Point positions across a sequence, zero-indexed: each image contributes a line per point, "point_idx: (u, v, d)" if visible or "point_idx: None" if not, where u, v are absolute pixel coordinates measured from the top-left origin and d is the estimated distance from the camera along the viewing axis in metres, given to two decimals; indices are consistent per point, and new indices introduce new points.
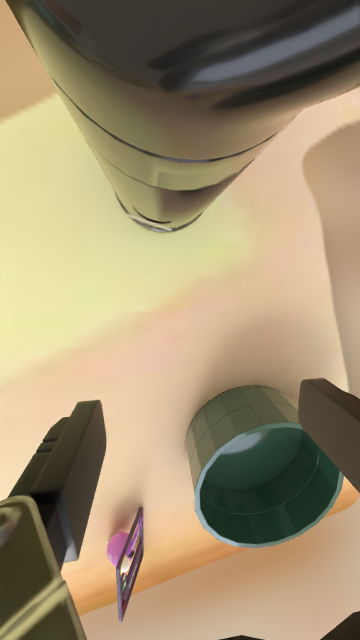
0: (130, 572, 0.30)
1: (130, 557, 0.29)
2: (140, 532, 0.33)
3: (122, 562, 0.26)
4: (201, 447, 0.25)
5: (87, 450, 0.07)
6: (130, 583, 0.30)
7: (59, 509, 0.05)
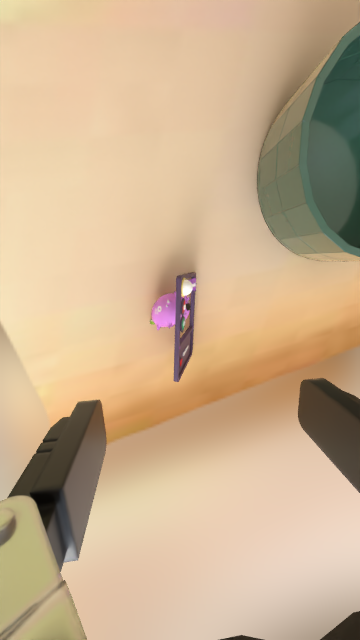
0: (184, 336, 0.22)
1: (187, 309, 0.21)
2: (191, 312, 0.25)
3: (183, 278, 0.18)
4: (304, 87, 0.17)
5: (87, 450, 0.07)
6: (184, 353, 0.22)
7: (59, 509, 0.05)
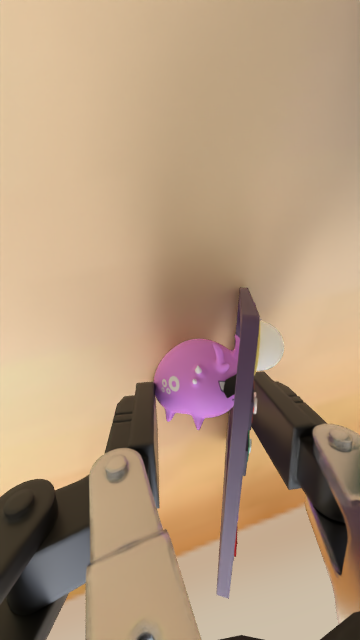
0: None
1: None
2: None
3: None
4: None
5: (155, 421, 0.08)
6: None
7: (150, 462, 0.06)
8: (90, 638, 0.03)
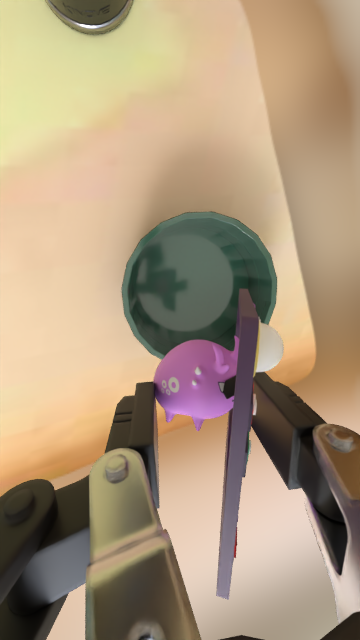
0: None
1: None
2: None
3: (259, 322, 0.06)
4: None
5: None
6: None
7: (150, 462, 0.06)
8: (90, 638, 0.03)
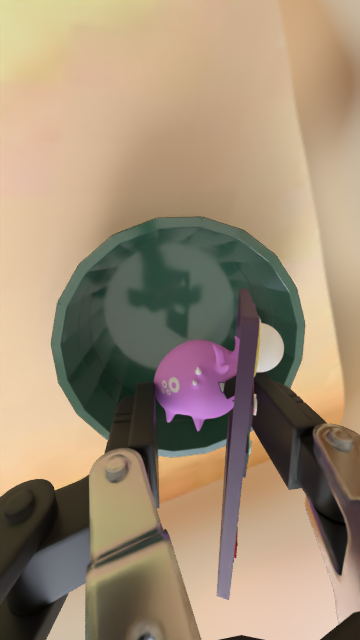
0: None
1: None
2: None
3: (259, 322, 0.06)
4: None
5: None
6: None
7: (150, 462, 0.06)
8: (90, 638, 0.03)
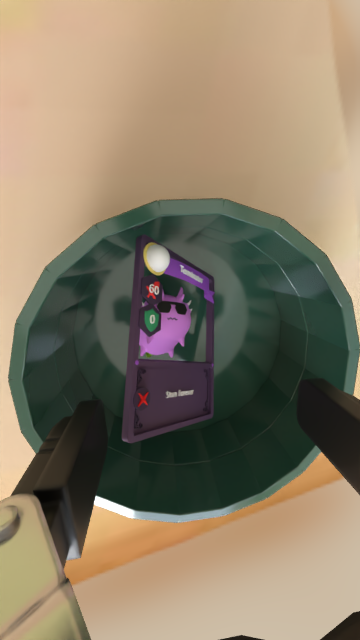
0: (174, 361, 0.12)
1: (178, 311, 0.12)
2: (208, 337, 0.15)
3: (152, 242, 0.11)
4: None
5: (89, 449, 0.07)
6: (171, 393, 0.11)
7: (62, 507, 0.05)
8: None
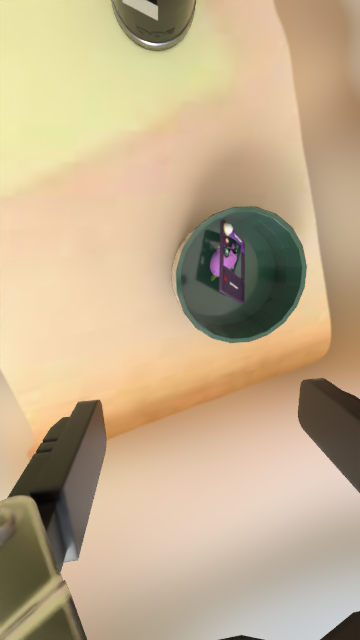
0: (231, 272, 0.29)
1: (233, 252, 0.30)
2: (242, 269, 0.32)
3: None
4: (183, 244, 0.29)
5: (87, 450, 0.07)
6: (231, 283, 0.29)
7: (59, 509, 0.05)
8: None
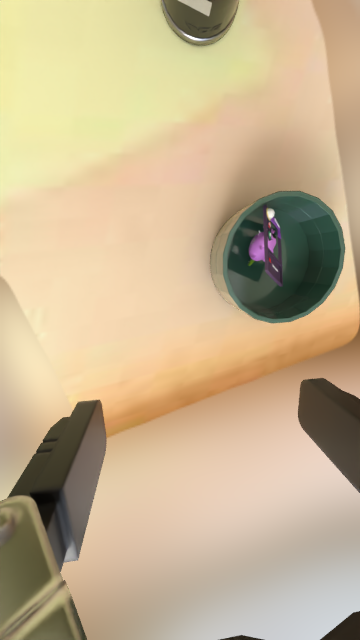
0: None
1: (273, 236, 0.31)
2: (279, 254, 0.34)
3: None
4: (227, 229, 0.30)
5: (87, 450, 0.07)
6: (273, 265, 0.30)
7: (59, 509, 0.05)
8: None
